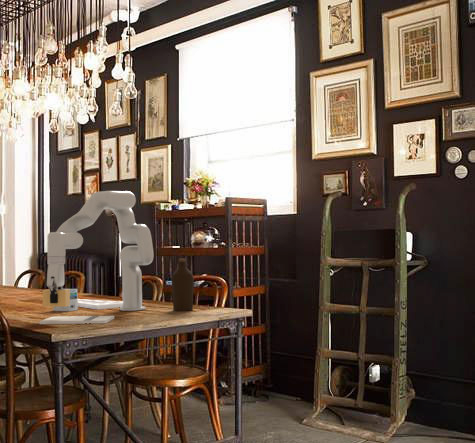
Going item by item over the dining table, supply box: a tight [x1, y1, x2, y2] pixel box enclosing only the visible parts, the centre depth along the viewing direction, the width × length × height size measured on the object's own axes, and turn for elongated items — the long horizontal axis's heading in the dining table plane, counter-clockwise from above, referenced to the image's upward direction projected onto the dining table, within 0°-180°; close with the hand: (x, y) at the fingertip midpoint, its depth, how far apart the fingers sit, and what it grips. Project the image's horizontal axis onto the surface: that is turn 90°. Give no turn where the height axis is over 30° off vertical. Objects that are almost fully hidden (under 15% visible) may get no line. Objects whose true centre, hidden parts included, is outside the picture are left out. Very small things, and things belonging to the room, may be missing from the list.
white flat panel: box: [39, 315, 115, 325], centre depth 277 cm, size 16×28×1 cm, turn 88°
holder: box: [78, 298, 123, 311], centre depth 345 cm, size 45×18×3 cm, turn 40°
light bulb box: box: [52, 288, 79, 312], centre depth 320 cm, size 11×7×11 cm, turn 65°
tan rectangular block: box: [42, 288, 71, 308], centre depth 277 cm, size 6×10×7 cm, turn 88°
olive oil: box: [171, 258, 195, 312], centre depth 312 cm, size 11×11×25 cm
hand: (56, 302), depth 277 cm, fingers closed on tan rectangular block, 6 cm apart
